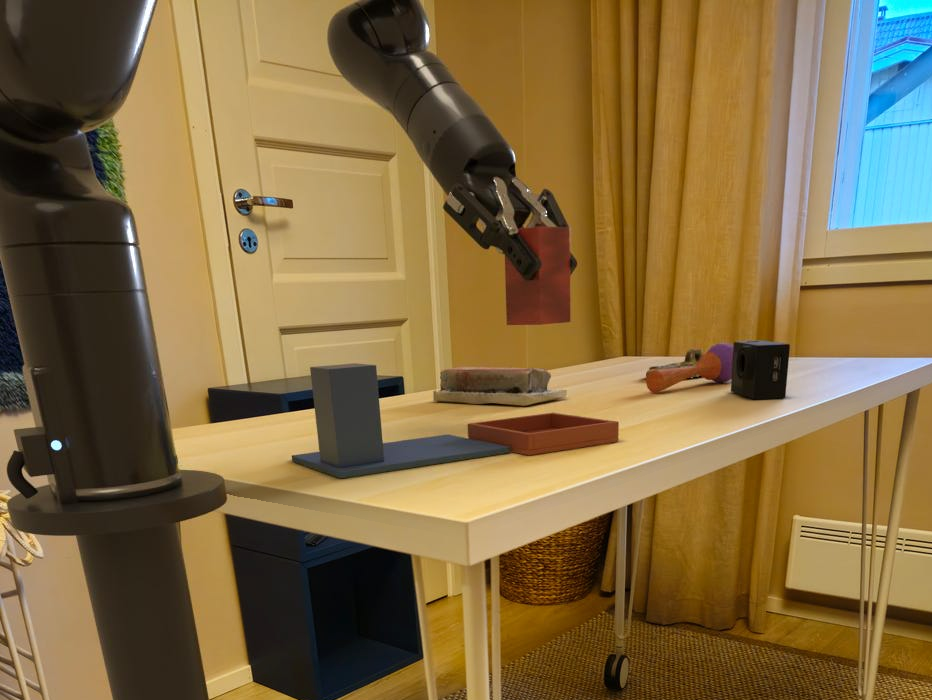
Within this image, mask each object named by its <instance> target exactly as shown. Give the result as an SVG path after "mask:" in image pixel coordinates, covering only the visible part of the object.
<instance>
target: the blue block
mask: <svg viewBox="0 0 932 700" xmlns="http://www.w3.org/2000/svg"><path fill="white" fill-rule="evenodd" d="M309 372H310V380H311V389H312V398H313V406H314V407H313V408H314V415H315V416H314V417H315V424H316V433H317V442H318V452H320V461H321V462H324V463H327V464H329V465H332V466H335V467H338V468H343V467H350V466H357V465H363V464H370V463H377V462H384V452H383V443H384V442H383V430H382V429H383V427H382V419H381V417H382V416H381V406H380V405H381V404H380V395H379V381H378V371H377V365H376V364H367V363H358V362H357V363H356V362H355V363H344V364H343V363H342V364H330V365H318V366H317V365H316V366H310V367H309Z"/></svg>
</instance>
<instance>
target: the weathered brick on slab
mask: <svg viewBox="0 0 932 700" xmlns="http://www.w3.org/2000/svg"><path fill="white" fill-rule="evenodd" d="M551 377H552V374H551V372H549V371H548V370H545V369H542V368H537V367H527V368H526V367H525V368H522V367H512V366H509V367H491V366H458V367H452V368H446V369H445V368H444V369H443V370H442V371H440V376H439V379H440V386H439V387H440V390H437V391H436V390H434V391H433V393H432V394H433V396H432V397H433V398H432V400H433V402H442V403H455V404H469V405H470V404H471V405H483V404H500V405H509V406H519V407H525V406H530V405H534V404H535V405H536V404H541V403H545V402H551V401H556V400H561V399H566V398H567V389H559V390H557V389H548V385H549V382H550V380H551Z"/></svg>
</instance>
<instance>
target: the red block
mask: <svg viewBox="0 0 932 700" xmlns="http://www.w3.org/2000/svg"><path fill="white" fill-rule="evenodd" d="M518 231H519V232H518V234H517V235H522V236H523V237H524V239H525V240H526V241H527V243H528V244H529V245H530V247H531V248H532V249H533V251H534V252H535V254H536V255H537V256H538V258H539V259H540V260H541V262H542V266H541V268H540V270H539V271H538V273H537V274H536V276H535V277H534V279H533V280H524V279H523V277H522V276H521V275H520V273H519V272H518V271H517V270H516V269H515V267H514V266H513V264H512V263H511V262H510V260H509V259H508V258H507V256H506V255H505V254H504V278H505V279H504V280H505V284H504V285H505V311H506V312H505V313H506V326H541V325H542V326H543V325H554V324H565V323H567V324H568V323H571V322H572V321H571V320H572V319H571V276H570V252H571V227H570V226H569V227H530V228H526V227H524V228H521V229H518Z"/></svg>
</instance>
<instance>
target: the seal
mask: <svg viewBox="0 0 932 700" xmlns="http://www.w3.org/2000/svg"><path fill="white" fill-rule="evenodd" d="M703 355H704V354H703V351H702V349H701V348H690V349H688V350H687V351H686V354H685V356H684V361H682V362H681V361H680V362H673V363H669V364H665V365H660V366H659V365H654V366H650V367H649V368H648V370H647V371H646V373H645V378H646V377H647V374H648V373H649V372H650V371H652V370H660V369H672V368H683V367H695V366H696V364H697V363H698V361H699V360H700V358H701V357H702V356H703ZM698 376H699V375H698V374H695V375H693V376H691V377H698ZM691 377H689V378H691ZM698 378H699V377H698ZM691 379H692V378H691Z"/></svg>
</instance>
